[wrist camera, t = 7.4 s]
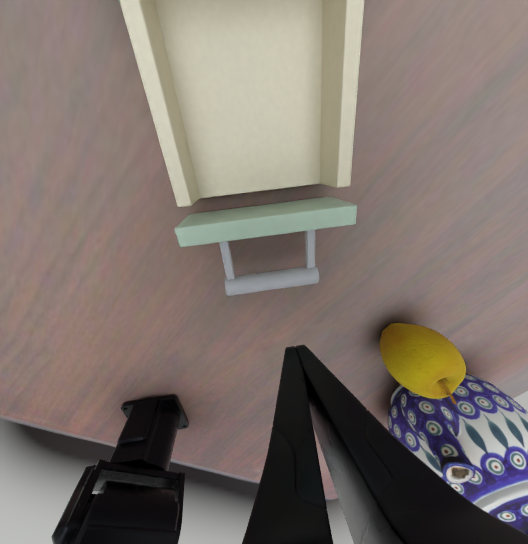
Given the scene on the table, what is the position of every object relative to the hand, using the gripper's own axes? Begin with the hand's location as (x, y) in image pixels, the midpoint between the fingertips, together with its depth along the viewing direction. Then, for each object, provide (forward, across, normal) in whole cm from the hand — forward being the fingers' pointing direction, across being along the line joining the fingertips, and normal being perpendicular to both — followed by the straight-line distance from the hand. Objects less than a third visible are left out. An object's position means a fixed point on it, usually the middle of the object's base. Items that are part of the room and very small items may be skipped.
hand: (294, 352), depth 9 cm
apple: (+11, -14, +12) cm, 21 cm away
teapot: (+11, -21, +25) cm, 34 cm away
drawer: (+10, 0, -8) cm, 13 cm away
